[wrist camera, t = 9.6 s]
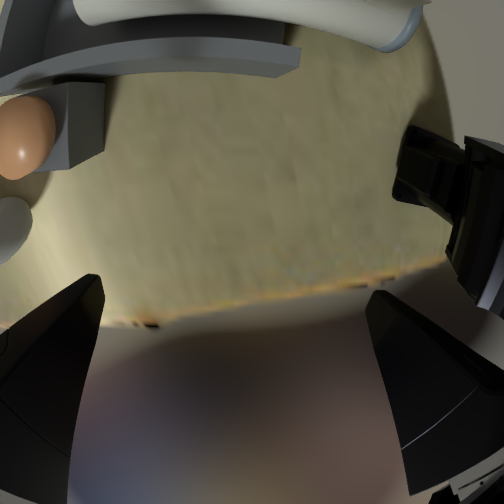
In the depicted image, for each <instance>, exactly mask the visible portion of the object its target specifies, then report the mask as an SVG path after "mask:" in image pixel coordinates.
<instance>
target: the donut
mask: <svg viewBox="0 0 504 504" xmlns="http://www.w3.org/2000/svg"><path fill="white" fill-rule="evenodd" d="M32 222H33V219H32V213H31V210H30V208H29V205H28V204H27V203H26V202H25V200H23V199H21V198H18V197H5V198H2V199H0V266H1V265H2V264H4V263H5V262H6V261H8V260H9V259H10V258H11V257H12V256H13V255H14V254H15V253H16V252H17V251H18V250H19V249H20V248H21V246H22V245H23V244H24V242H25V241H26V240H27V238H28V235H29V233H30V230H31V228H32Z"/></svg>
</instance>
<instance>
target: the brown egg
mask: <svg viewBox="0 0 504 504" xmlns="http://www.w3.org/2000/svg"><path fill="white" fill-rule="evenodd" d="M55 134H56V125H55V118H54V114H53V111H52V109H51V107H50V105H49V104H48V103H47V101H46V100H44V99H43V98H41V97H39V96H24V97H17V98H12V99H10V100H8V101H6V102H5V103H4V104H3V105H2V106H1V107H0V174H1V175H2V176H3V177H5V178H7V179H10V180H17V179H20V178H22V177H24V176H25V175H27V174H29V173H31V172H33V171H35V170H36V169H38V168H40V167H41V166H42V165H43V164H44V163H45V162H46V160H47V159H48V157H49V156H50V154H51V151H52V149H53V145H54V141H55Z"/></svg>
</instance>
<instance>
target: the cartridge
mask: <svg viewBox="0 0 504 504" xmlns="http://www.w3.org/2000/svg"><path fill="white" fill-rule="evenodd" d="M429 3H431V0H73V4H74V7H75V10H76V12H77V14H78V16H79V17H80V19H81V20H82V21H83V22H84V23H86V24H87V25H90V26H97V25H102V24H106V23H111V22H117V21H123V20H129V19H136V18H144V17H153V16H165V15H184V14H212V15H232V16H244V17H253V18H261V19H269V20H275V21H281V22H286V23H292V24H297V25H301V26H306V27H310V28H314V29H318V30H322V31H326V32H329V33H333V34H336V35H339V36H343V37H346V38H349V39H352V40H355V41H358V42H361V43H363V44H366V45H368V46H369V47H371V48H373V49H375V50H378V51H380V52H383V53H390V52H394V51H396V50H398V49H399V48H401V47H402V46H404V45H405V44H406V43H407V42H408V41H409V39H410V38H411V37H412V36H413V34H414V32H415V31H416V29H417V27H418V25H419V22H420V19H421V16H422V11H423V5H424V4H429Z"/></svg>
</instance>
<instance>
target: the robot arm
mask: <svg viewBox="0 0 504 504" xmlns="http://www.w3.org/2000/svg"><path fill="white" fill-rule="evenodd" d="M413 129H414V133H413ZM464 144H465V150H463V149H461V148H460V147H459V146H458V145H457V144H455V143H453V142H451V141H449V140H447V139H445V138H443V137H441V136H438V135H436V134H434V133H432V132H429V131H427V130H425V129H422V128H420V127H417V126H414V125H410V126H409V127H408V129H407V134H406V139H405V144H404V148H403V152H402V157H401V161H400V165H399V169H398V173H397V178H396V181H395V185H394V189H393V192H392V197H393V198H394V199H395V200H397V201H400V202H405V203H410V204H415V205H419V206H424V207H428V208H430V209H431V210H433V211H434V212H435V213H437V214H438V215H439V216H441V217H442V218H443V219H445V220H446V221H447V222H449V223H450V224H451V225H453V227H452V231H451V236H450V239H449V243H448V245H447V246H446V250H445V253H446V255H447V257H448V258H449V260H450V262H451V264H452V266H453V268H454V270H455V272H456V274H457V280H458V282H459V284H460V285H461V286H462V287H463V288H464V290H465V291H466V292H467V293H468V295H470V296H471V297H472V298H473V299H475V300H476V301H475V304H476V305H477V306H478V307H481V308H484V309H487V310H490V311H491V312H493V313H495V314H496V315H498V316H500V317H501V318H502V319H503V320H504V145H502V144H500V143H496V142H492V141H488V140H484V139H479V138H474V137H469V136H465V138H464ZM398 193H399V196H397V194H398ZM104 303H105V294H104V290H103V286H102V281H101V278H100V276H99V275H97V274H86V275H85V276H83V277H82V278H80V279H78V280H77V281H75V282H74V283H72V284H71V285H69V286H68V287H66V288H65V289H63V290H62V291H60V292H59V293H57V294H56V295H54V296H53V297H51V298H50V299H48V300H47V301H45V302H44V303H43V304H41V305H40V306H38V307H37V308H35V309H34V310H33V311H31V312H30V313H28V314H27V315H26V316H24V317H23V318H22V319H20V320H19V321H18V322H16V323H15V324H14V325H12V326H11V327H10V328H9V329H7V330H6V331H4V332H3V333H2V334H0V504H67V491H68V478H69V467H70V457H71V450H72V443H73V436H74V431H75V425H76V420H77V415H78V410H79V405H80V401H81V396H82V392H83V388H84V384H85V380H86V376H87V372H88V369H89V365H90V362H91V358H92V355H93V351H94V348H95V344H96V340H97V335H98V330H99V325H100V321H101V316H102V312H103V308H104ZM365 315H366V319H367V323H368V327H369V332H370V336H371V340H372V344H373V349H374V352H375V356H376V359H377V362H378V365H379V368H380V371H381V375H382V378H383V381H384V385H385V388H386V392H387V395H388V399H389V402H390V406H391V409H392V414H393V418H394V421H395V426H396V430H397V434H398V438H399V443H400V447H401V452H402V457H403V462H404V467H405V472H406V478H407V484H408V490H409V495H410V496H413V495H415V494H418V493H420V492H423V491H425V490H428V489H430V488H432V487H435V486H437V485H439V484H441V483H443V482H445V481H448V480H449V484H447V485H446V486H444V487H443V488H441V489H440V490H438V491H436V492H435V493H433V494H432V497H431V499H430V501H429V504H504V370H502V369H501V368H499V367H498V366H496V365H495V364H493V363H491V362H490V361H488V360H487V359H485V358H484V357H482V356H481V355H479V354H478V353H476V352H475V351H473V350H472V349H470V348H469V347H468V346H466V345H465V344H464V343H462V342H461V341H459V340H458V339H456V338H455V337H453V336H452V335H451V334H449V333H448V332H447V331H445V330H444V329H442V328H441V327H439V326H438V325H437V324H435V323H434V322H432V321H431V320H429V319H428V318H427V317H425V316H424V315H422V314H421V313H419V312H417V311H416V310H415V309H413V308H412V307H410V306H409V305H407V304H406V303H404V302H402V301H401V300H400V299H398V298H397V297H395V296H394V295H392V294H391V293H389V292H388V291H386V290H375V291H374V292H373V293H372V296H371V298H370V300H369V302H368V304H367V306H366V309H365Z"/></svg>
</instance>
